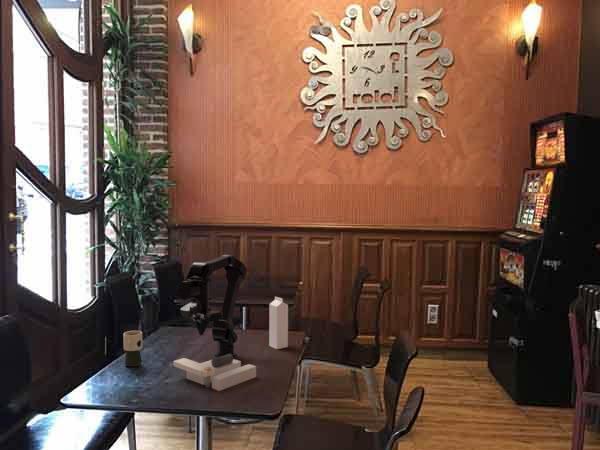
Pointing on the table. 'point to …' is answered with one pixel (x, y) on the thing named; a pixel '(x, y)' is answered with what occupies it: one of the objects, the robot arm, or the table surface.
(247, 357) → the table surface
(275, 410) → the table surface
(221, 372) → the white block with cutout
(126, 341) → the character mug
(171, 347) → the table surface
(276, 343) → the milk
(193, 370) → the cover
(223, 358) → the rod
